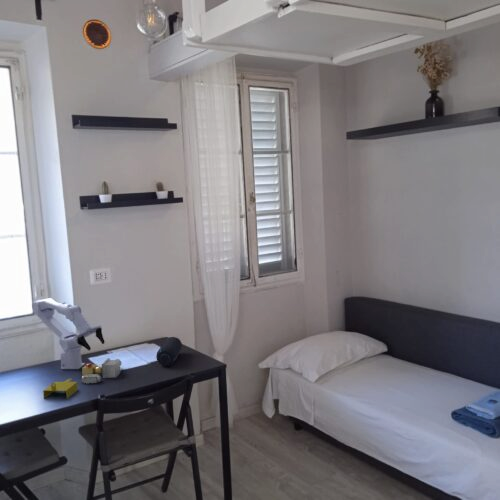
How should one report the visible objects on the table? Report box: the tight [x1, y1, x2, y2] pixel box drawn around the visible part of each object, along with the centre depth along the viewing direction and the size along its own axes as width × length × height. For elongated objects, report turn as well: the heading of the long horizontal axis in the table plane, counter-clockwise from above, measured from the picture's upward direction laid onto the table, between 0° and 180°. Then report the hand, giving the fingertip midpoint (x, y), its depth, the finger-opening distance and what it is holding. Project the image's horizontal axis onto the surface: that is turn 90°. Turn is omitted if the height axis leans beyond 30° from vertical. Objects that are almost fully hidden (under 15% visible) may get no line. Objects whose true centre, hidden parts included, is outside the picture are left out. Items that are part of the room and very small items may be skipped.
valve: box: [81, 362, 102, 376], centre depth 253 cm, size 9×5×6 cm, turn 84°
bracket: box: [43, 378, 79, 399], centre depth 233 cm, size 16×8×15 cm
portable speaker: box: [156, 336, 183, 367], centre depth 270 cm, size 25×10×10 cm, turn 178°
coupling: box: [101, 358, 122, 379], centre depth 255 cm, size 6×14×7 cm, turn 175°
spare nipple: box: [81, 374, 102, 385], centre depth 244 cm, size 8×3×3 cm, turn 85°
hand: (96, 346), depth 255 cm, fingers open, 7 cm apart
